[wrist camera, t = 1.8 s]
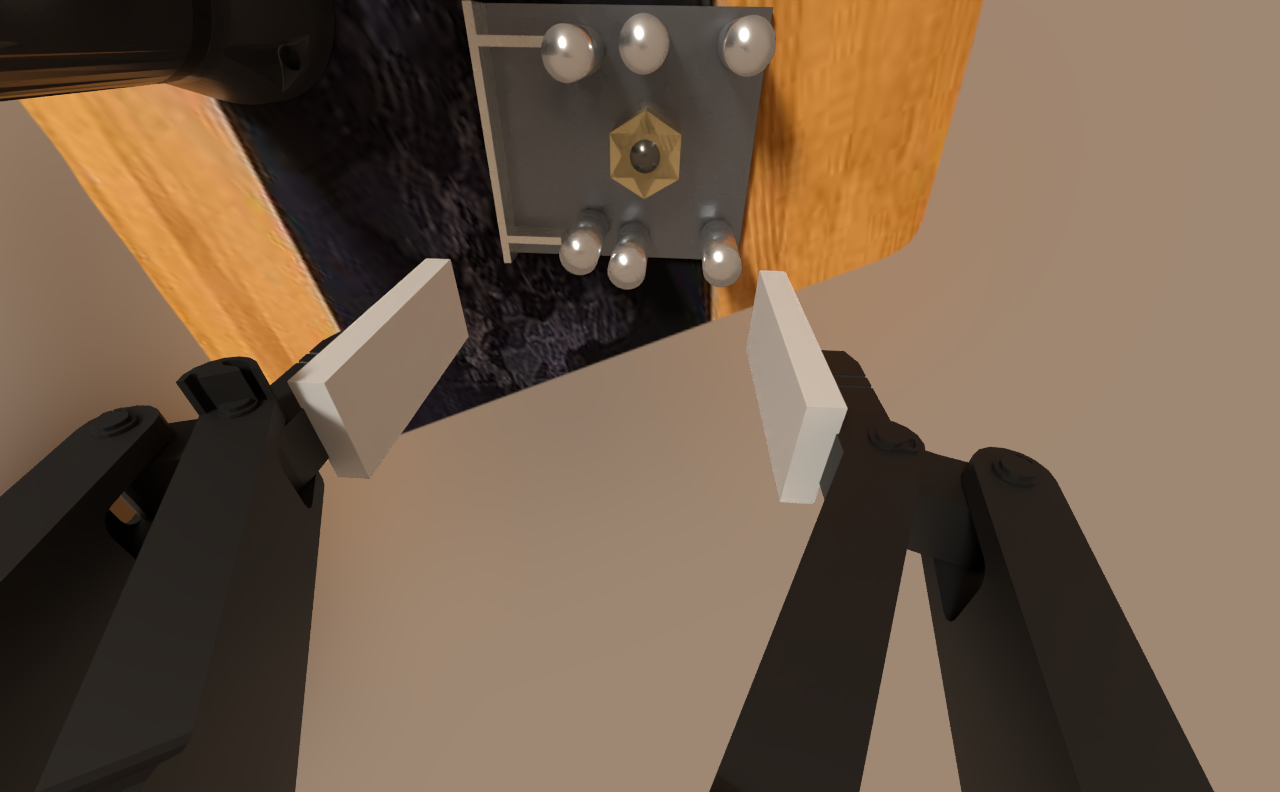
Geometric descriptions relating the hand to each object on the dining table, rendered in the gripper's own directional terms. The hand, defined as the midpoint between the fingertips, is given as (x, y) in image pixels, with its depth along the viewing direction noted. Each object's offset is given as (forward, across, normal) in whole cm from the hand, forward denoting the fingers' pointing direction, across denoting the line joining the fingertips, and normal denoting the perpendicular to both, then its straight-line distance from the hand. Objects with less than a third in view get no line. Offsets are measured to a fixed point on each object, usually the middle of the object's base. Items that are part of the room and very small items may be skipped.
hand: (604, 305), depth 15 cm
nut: (+27, 0, 0) cm, 27 cm away
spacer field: (+28, -2, 0) cm, 28 cm away
